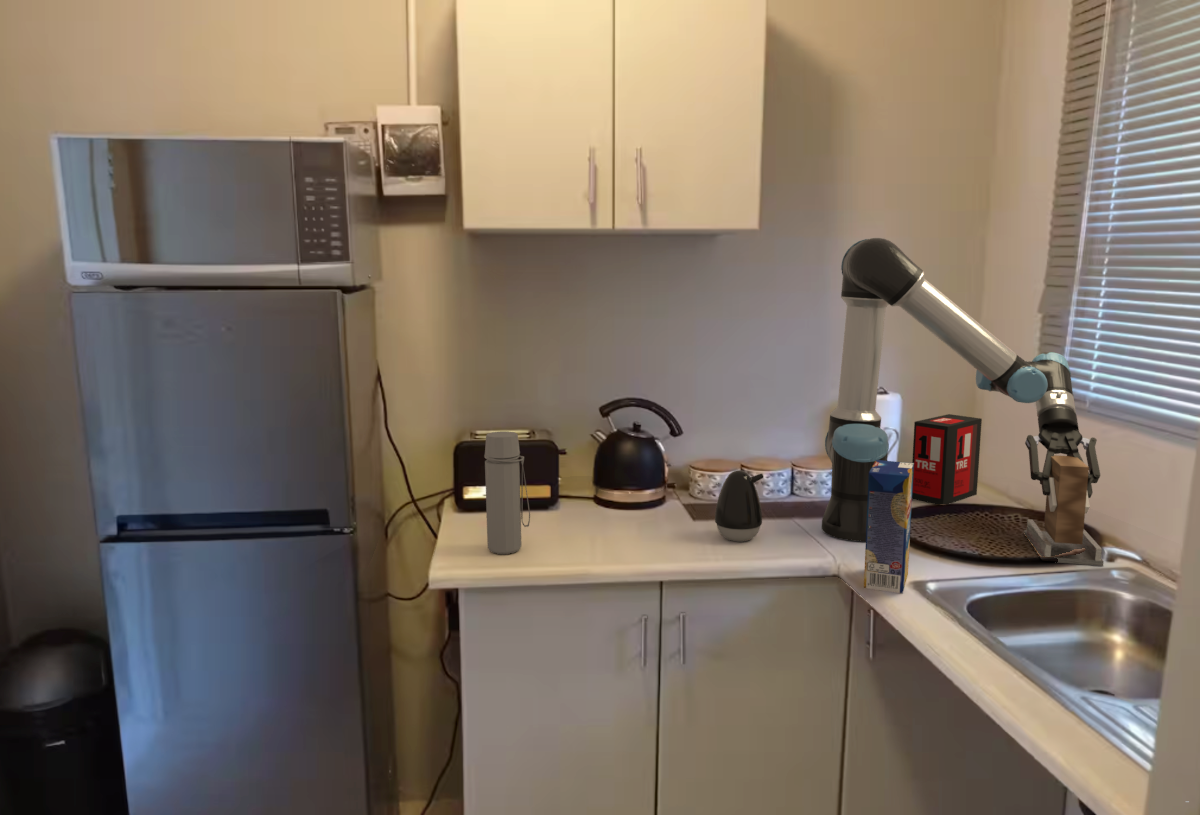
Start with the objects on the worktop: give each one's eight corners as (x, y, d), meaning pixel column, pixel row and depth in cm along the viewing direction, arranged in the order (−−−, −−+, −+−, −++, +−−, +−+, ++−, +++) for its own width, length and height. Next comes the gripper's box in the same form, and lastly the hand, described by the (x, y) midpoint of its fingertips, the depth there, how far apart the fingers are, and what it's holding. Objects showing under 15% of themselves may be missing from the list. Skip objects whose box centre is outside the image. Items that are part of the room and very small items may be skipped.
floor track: (1041, 561, 172) (1043, 544, 171) (1023, 534, 189) (1025, 519, 188) (1103, 566, 169) (1104, 549, 168) (1079, 538, 186) (1080, 522, 185)
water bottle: (488, 557, 177) (484, 438, 172) (486, 545, 184) (482, 431, 180) (532, 554, 178) (530, 436, 174) (528, 542, 186) (526, 429, 182)
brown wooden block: (1054, 542, 174) (1060, 465, 172) (1043, 527, 184) (1049, 455, 181) (1082, 544, 173) (1089, 467, 170) (1070, 529, 182) (1076, 456, 180)
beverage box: (907, 573, 165) (913, 462, 162) (902, 593, 155) (908, 476, 152) (871, 569, 168) (876, 459, 164) (863, 588, 158) (868, 472, 155)
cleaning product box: (944, 487, 228) (948, 414, 225) (976, 494, 222) (981, 418, 218) (910, 498, 218) (914, 421, 215) (943, 506, 211) (947, 426, 208)
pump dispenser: (767, 544, 183) (769, 475, 181) (719, 546, 183) (720, 476, 180) (756, 530, 193) (758, 464, 191) (710, 531, 193) (711, 465, 190)
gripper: (1014, 404, 186) (1023, 497, 173) (1108, 407, 181) (1125, 503, 168) (1008, 423, 192) (1017, 515, 179) (1099, 427, 187) (1115, 521, 174)
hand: (1069, 509), depth 174 cm, fingers closed on brown wooden block, 5 cm apart
